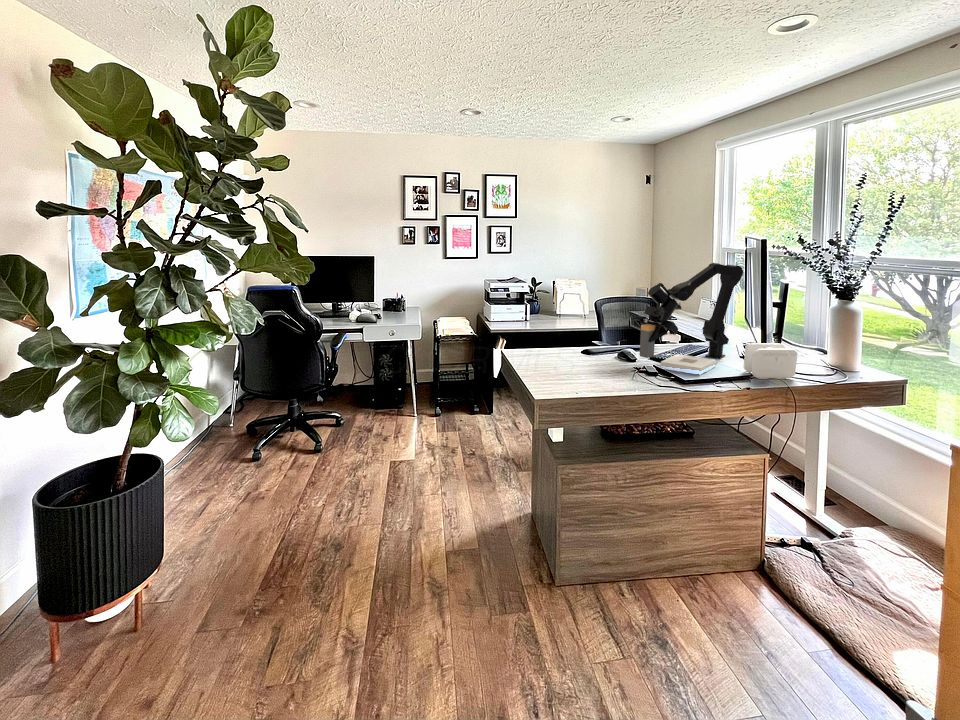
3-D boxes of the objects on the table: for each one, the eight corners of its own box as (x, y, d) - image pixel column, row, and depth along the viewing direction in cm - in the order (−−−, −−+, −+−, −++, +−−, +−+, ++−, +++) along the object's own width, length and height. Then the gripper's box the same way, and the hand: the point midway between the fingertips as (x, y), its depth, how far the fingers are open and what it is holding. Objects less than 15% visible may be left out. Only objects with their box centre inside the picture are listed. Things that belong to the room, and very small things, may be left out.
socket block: (676, 360, 236) (677, 354, 236) (715, 366, 226) (715, 359, 225) (660, 368, 225) (660, 361, 224) (700, 375, 214) (701, 368, 214)
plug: (646, 354, 232) (648, 323, 229) (653, 356, 229) (655, 325, 226) (639, 356, 230) (641, 324, 227) (646, 358, 227) (648, 326, 224)
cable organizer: (782, 372, 217) (786, 343, 214) (795, 380, 207) (799, 349, 204) (742, 372, 218) (745, 343, 215) (752, 379, 208) (756, 349, 205)
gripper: (638, 296, 234) (618, 325, 231) (675, 301, 218) (654, 332, 215) (651, 312, 240) (631, 341, 237) (687, 319, 224) (666, 349, 221)
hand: (645, 340), depth 227 cm, fingers closed on plug, 4 cm apart
